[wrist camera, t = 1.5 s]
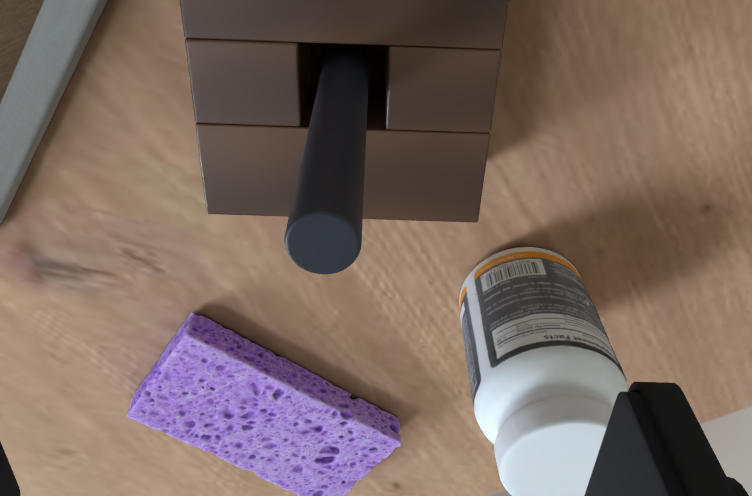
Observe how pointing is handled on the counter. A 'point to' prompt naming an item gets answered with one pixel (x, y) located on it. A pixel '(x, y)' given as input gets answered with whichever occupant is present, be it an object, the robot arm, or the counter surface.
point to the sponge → (262, 412)
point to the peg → (332, 166)
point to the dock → (385, 105)
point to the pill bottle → (538, 370)
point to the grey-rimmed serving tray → (35, 75)
